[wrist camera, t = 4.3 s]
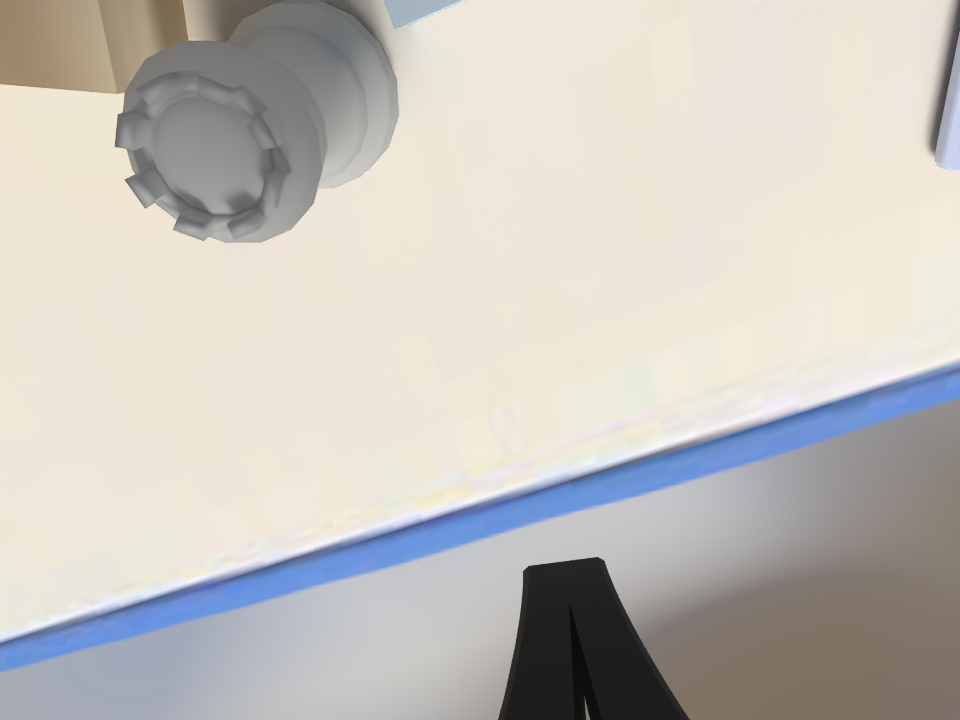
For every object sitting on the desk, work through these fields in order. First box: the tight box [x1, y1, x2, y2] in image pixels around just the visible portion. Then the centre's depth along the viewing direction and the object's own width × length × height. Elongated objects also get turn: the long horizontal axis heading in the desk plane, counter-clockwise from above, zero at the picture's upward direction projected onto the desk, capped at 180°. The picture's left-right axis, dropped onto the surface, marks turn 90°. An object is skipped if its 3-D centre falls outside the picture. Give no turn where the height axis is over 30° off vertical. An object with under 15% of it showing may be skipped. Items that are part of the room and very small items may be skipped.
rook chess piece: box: [115, 0, 399, 243], centre depth 13 cm, size 4×4×8 cm
